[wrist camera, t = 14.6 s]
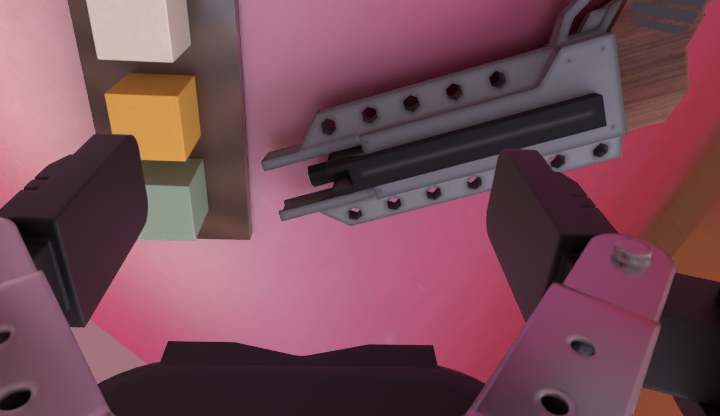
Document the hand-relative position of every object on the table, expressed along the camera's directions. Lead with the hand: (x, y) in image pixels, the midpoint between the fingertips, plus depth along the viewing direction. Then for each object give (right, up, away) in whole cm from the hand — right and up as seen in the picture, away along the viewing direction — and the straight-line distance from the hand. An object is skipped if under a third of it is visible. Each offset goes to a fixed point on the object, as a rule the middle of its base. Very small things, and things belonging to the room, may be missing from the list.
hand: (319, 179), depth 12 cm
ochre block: (-13, +7, +27) cm, 31 cm away
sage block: (-14, +1, +30) cm, 33 cm away
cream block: (-13, +13, +24) cm, 30 cm away
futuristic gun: (+10, +10, +27) cm, 31 cm away
